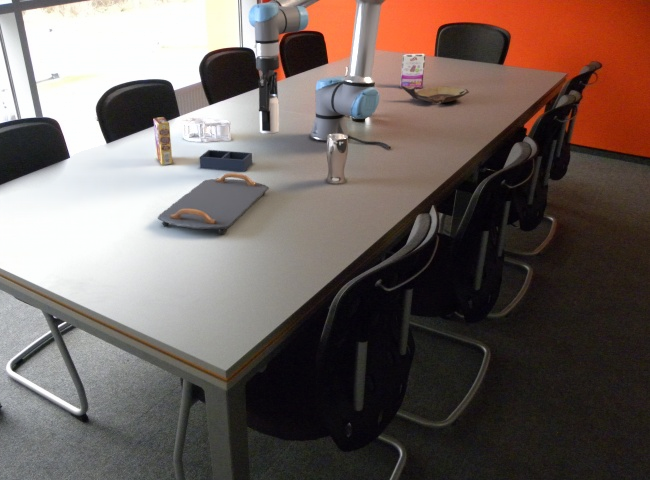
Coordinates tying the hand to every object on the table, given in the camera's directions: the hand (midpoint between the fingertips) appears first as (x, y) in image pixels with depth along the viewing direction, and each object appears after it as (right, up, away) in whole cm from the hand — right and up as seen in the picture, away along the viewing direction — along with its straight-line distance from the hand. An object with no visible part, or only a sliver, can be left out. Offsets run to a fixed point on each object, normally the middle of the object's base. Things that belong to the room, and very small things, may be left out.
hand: (269, 127), depth 209 cm
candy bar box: (+77, +52, +111) cm, 145 cm away
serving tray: (-17, -32, -23) cm, 42 cm away
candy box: (-39, -7, +19) cm, 44 cm away
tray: (-15, -11, +12) cm, 22 cm away
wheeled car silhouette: (-24, +7, +43) cm, 50 cm away
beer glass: (+22, -19, -5) cm, 30 cm away
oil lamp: (+82, +36, +84) cm, 123 cm away
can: (0, -1, +1) cm, 2 cm away
